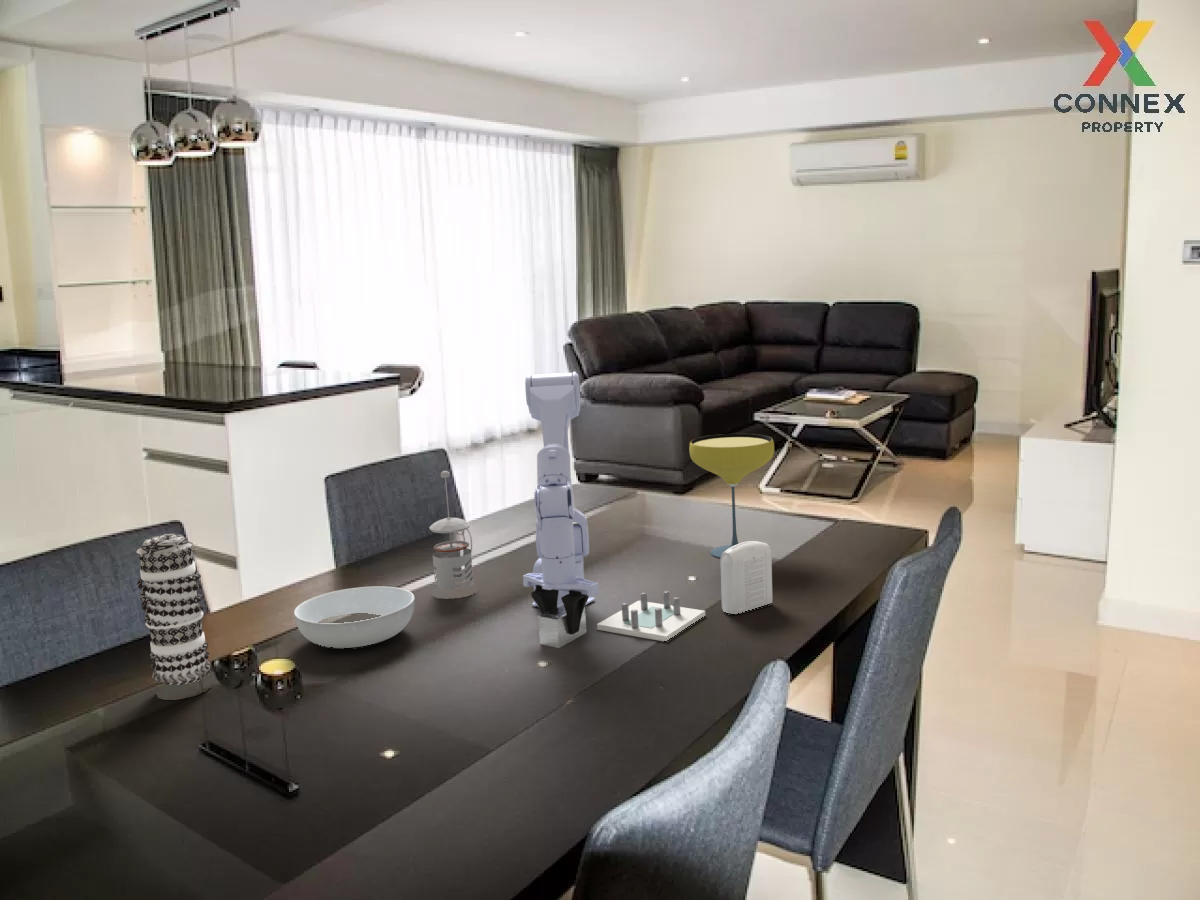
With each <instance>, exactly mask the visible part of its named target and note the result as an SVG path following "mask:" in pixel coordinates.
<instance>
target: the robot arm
mask: <svg viewBox="0 0 1200 900" xmlns="http://www.w3.org/2000/svg"><path fill="white" fill-rule="evenodd" d="M524 381H525V383H524V385H525V388H524V390H525V399H526V405H527V406H528V407H527V408H528V411H529V414H530V416H531V418H532V419H534V420H536V421H539V422H540V423H541V424H540V425H541V432H542V433H541V435H542V441H543V447H542V448H541V449H540V450H539V451H538V452H537V455H536V456H537V457H536V463H537V464H536V471H537V473H536V474H537V475H536V476H537V479H536V482H537V484H536V485H537V489H536V488H535V489H534V493H533V494H534V498H533V499H534V500H533V501H534V513H535V517H536V522H535V548H536V549H535V550H536V555H537V556H538V559H536V561H535V563H534V565H533V569H532V572H529V573H526V574H524V575H522V581H523V582H522V583H523V585H522V586H523V587H526V588H527V587H528V588H529V587H533V591H532V592H531V594H530V595H531V598H532V599H533V602H532V603H531V604H532V605H533V607H536V606H537V607H538V608H539V610H540V613H541V615H542V614H544V613H546V612H548V611H550V610H552V609H554V608H556V607H558V606H560V605H562V604H564V607H565V611H566V615H567V624H568V631H569V634H575V633H576V632H578V631H579V627H580V621H581V617H582V613H583V610H584V607H585V608H586V606H587V605H588V604H590V603H593V602H594V601H595V600H596V598H595V597H594V596H597V595H598V594H599V582H595V581H591V580H589V579H585V571H584V569H585V568H584V557H588V555H589V554H590V539H589V538H590V537H589V536H590V535H589V527H588V526H589V525H588V518H587V517H586V514H585V513H583V512H582V511H580V510H578V509H577V508H576V507H575V495H574V489H573V484H572V478H571V455H570V447H569V446H570V445H569V427H570V423H571V420H573V419H575V418H576V417H578V416H580V411H581V389H580V376H579V374H578V373H577V371H573V372H562V373H560V372H559V373H542V374H541V373H540V374H527V376H526V377H525V380H524ZM574 523H575V524H574ZM532 605H531V606H532Z"/></svg>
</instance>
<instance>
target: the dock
mask: <svg viewBox="0 0 1200 900" xmlns="http://www.w3.org/2000/svg"><path fill="white" fill-rule="evenodd" d="M662 593H663V595H662V596H663V603H658V602H652V601H651V602H650V601H648V593H647V592H641V593H640V594H639V595H640V600H637V601H635V602H633V603H632V604H630V605H629V603H627V602H622V603H621V610H619V611H617V612H615V613H614V614H612V615H610V616H609V617H607V618H605V619H604V620H602V621H600V622H599V623H596V629H597V630H598V631H602V632H604V631H605V632H610V633H614V634H620V635H625V636H631V637H636V638H642V639H647V640H654V641H659V642H664V641H667V640H669V639H670V638H672V637H673V638H675V637H676V636H678V635H679V634H680V633H679V632H681V631H682V630H684V629H685V628H687V627H688V626H690V625H691V624H693V623H694V624H696V623H697V622H698V620H699V619H700V620H702V619H703V618H705V617H706V610H702V609H696V608H690V607H689V608H688V607H683V606H681V597H678V596H677V597H675V596H674V597H673V598H672V601H673V602H672V603H673V605H672V604H671V592H670V590H664V591H663V592H662ZM704 616H705V617H704ZM702 617H703V618H702ZM701 618H702V619H701ZM700 620H699V621H700ZM696 621H697V622H696ZM695 622H696V623H695ZM694 624H693V625H694ZM691 626H692V625H691ZM691 626H690V627H691ZM688 628H689V627H688ZM688 628H687V629H688ZM685 630H686V629H685ZM685 630H684V631H685ZM682 632H683V631H682ZM682 632H681V633H682ZM678 633H679V634H678ZM677 634H678V635H677ZM675 635H676V636H675ZM674 636H675V637H674ZM673 638H672V639H673ZM670 640H671V639H670ZM670 640H669V641H670ZM667 642H668V641H667Z"/></svg>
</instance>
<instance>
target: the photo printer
mask: <svg viewBox="0 0 1200 900" xmlns="http://www.w3.org/2000/svg"><path fill="white" fill-rule="evenodd" d="M719 559H720V561H719V562H720V597H721V599H720V600H721V610H723V613H724V612H726V613H731V614H735V615H737V614H738V613H739V614H743V613H746V612H745V611H747V612H749V611H748V610H750V611H753V610H752V609H754V610H756V609H755V608H757V609H759V608H758V607H761V606H764V605H767V604H770V603H773V568H772V567H773V566H772V565H773V562H772V561H773V560H772V559H773V558H772V549H771V548H770V546H769V544H768V543H766V542H761V541H757V540H751V541H748V540H747V541H743V542H740V543H739V542H738V544H737V545H734V546H732V547H730V548H729V549H727V550H726V551H724V552H723V553H722V555H721V558H719ZM770 605H771V604H770ZM761 608H762V607H761ZM742 612H743V613H742ZM726 613H725V614H726ZM739 614H738V615H739Z"/></svg>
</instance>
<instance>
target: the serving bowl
mask: <svg viewBox="0 0 1200 900" xmlns="http://www.w3.org/2000/svg"><path fill="white" fill-rule="evenodd" d="M415 602H416V600H415V595H414V594H413V593H412V591H410V590H408V589H405V588H400V587H395V586H385V585H384V586H379V585H378V586H377V585H376V586H360V587H352V588H345V589H340V590H335V591H334V590H333V591H330V592H327V593H323V594H320V595H317V596H313V597H311V598H309V599H307V600H305V601H303V602H301V603H300V604H298V606H296V607H295V609H294V611H293V616H294V621H295V624H296V626H297V628H298V631H299V632H300V633H301V635H302V636H303V637H305V639H307V640H308V641H309V642H311V643H312V644H315V645H317V644H318V646H320V645H321V647H324V646H325V647H324V648H330V647H333V648H332V649H344V648H351V647H360V646H366V645H370V646H372V645H371V644H373V645H375V644H378V643H381V642H384V641H387V640H388V639H391V638H393V637H394V636H396V635H398V633H401V632H402V631H403V629H404V628H405V627H406V626H407V625H408V624H409V623H410V622H411V621H410V620H411V619H412V616H413V614H414V610H415ZM351 613H368V614H374V615H375V614H376V615H381V616H379V617H375V618H371V619H366V620H360V621H354V622H344V623H318V622H319V621H321V620H323V619H326V618H329V617H332V616H338V615H342V614H343V615H344V614H351ZM366 647H367V646H366Z"/></svg>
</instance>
